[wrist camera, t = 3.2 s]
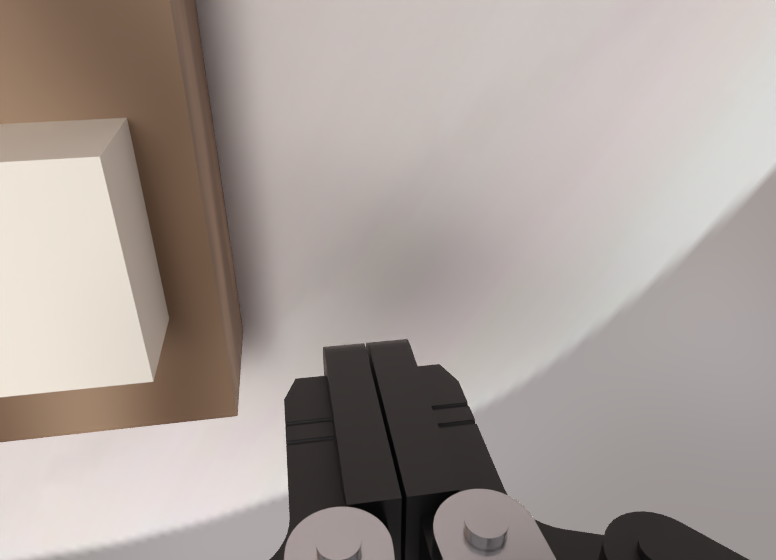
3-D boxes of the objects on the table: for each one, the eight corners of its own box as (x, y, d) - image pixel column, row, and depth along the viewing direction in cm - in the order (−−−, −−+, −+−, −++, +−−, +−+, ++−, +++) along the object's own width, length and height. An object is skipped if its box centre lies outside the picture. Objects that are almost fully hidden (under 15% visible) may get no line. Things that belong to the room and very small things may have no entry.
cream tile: (127, 117, 16) (99, 156, 14) (169, 318, 19) (153, 381, 17) (-135, 130, 15) (-218, 174, 13) (-49, 338, 18) (-101, 407, 16)
